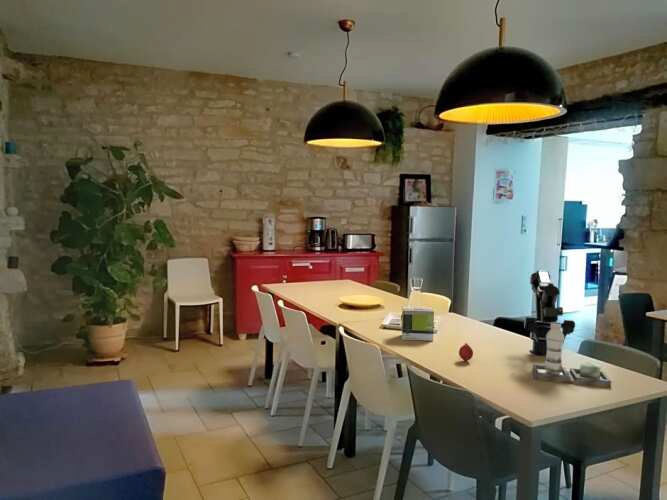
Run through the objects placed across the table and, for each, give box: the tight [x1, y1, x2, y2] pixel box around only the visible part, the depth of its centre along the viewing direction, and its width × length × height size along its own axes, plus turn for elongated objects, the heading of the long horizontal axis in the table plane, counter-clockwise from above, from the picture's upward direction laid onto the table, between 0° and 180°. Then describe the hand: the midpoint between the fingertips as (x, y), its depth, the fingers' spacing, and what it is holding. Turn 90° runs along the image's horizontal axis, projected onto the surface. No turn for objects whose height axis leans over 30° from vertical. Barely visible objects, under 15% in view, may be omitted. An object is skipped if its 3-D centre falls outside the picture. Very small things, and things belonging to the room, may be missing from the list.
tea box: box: [401, 306, 435, 342], centre depth 253 cm, size 15×10×15 cm, turn 84°
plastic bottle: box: [543, 321, 565, 374], centre depth 200 cm, size 6×7×20 cm
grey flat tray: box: [531, 361, 612, 389], centre depth 199 cm, size 26×12×6 cm, turn 75°
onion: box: [458, 342, 474, 362], centre depth 217 cm, size 6×6×8 cm
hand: (550, 343), depth 205 cm, fingers open, 9 cm apart
